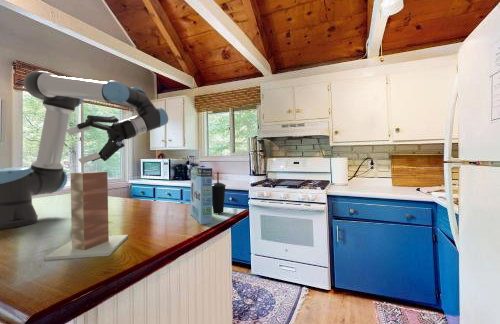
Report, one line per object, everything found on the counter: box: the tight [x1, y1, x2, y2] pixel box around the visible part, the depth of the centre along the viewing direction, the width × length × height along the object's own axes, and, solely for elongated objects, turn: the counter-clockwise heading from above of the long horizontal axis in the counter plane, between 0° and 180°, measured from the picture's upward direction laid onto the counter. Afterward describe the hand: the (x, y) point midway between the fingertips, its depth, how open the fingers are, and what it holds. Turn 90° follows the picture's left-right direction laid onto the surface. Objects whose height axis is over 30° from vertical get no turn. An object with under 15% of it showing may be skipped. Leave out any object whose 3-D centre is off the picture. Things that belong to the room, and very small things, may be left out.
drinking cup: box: [212, 171, 227, 214], centre depth 118 cm, size 8×8×20 cm
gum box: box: [190, 165, 213, 226], centre depth 106 cm, size 20×5×23 cm, turn 26°
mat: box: [43, 234, 129, 261], centre depth 74 cm, size 16×16×1 cm
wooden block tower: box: [69, 171, 110, 250], centre depth 73 cm, size 5×8×22 cm, turn 165°
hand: (74, 148), depth 86 cm, fingers open, 13 cm apart
